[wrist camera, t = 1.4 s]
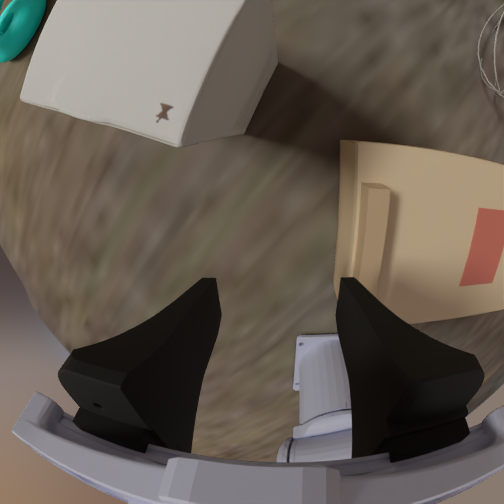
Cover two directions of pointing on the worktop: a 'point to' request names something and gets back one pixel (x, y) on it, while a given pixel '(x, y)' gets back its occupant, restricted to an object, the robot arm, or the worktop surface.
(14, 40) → the donuts
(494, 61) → the kitchen whisk
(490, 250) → the lid
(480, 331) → the worktop surface
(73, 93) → the small box
